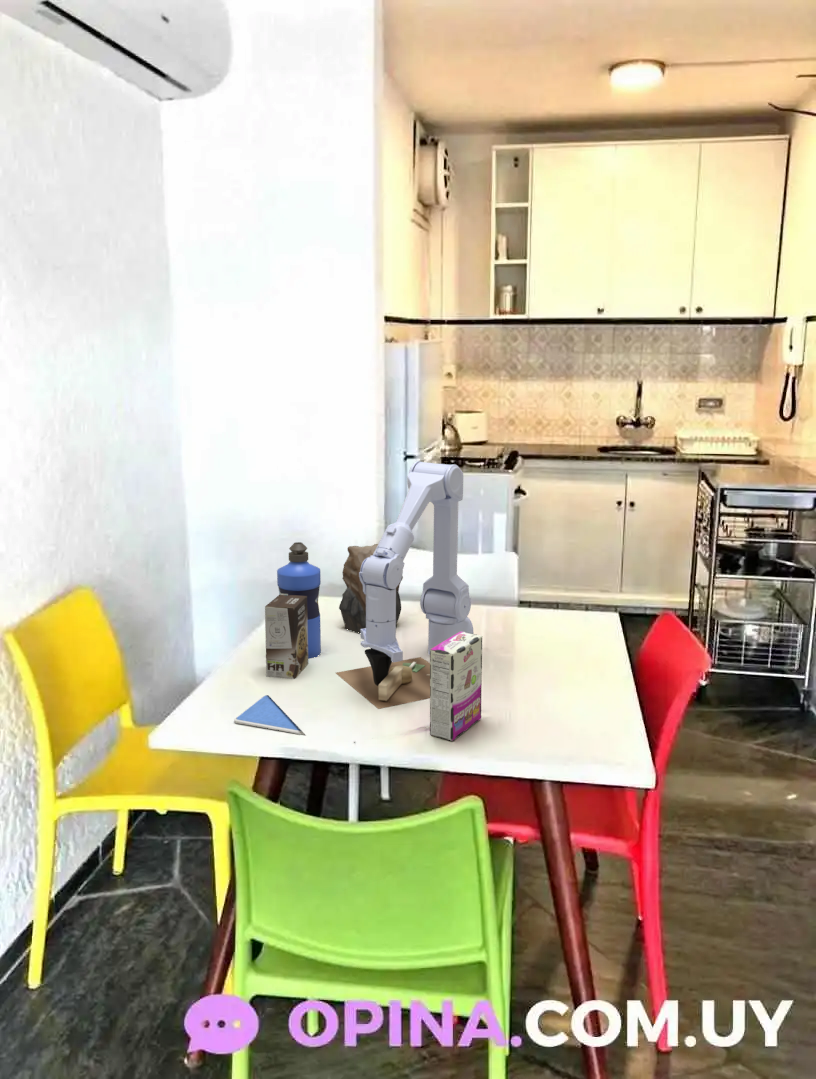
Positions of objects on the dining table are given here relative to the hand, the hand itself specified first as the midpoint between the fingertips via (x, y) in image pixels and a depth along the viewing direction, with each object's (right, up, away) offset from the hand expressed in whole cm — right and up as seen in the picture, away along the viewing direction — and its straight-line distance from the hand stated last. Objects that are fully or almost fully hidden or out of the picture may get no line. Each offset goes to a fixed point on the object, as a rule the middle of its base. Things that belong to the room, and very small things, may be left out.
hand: (380, 684), depth 171 cm
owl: (-3, +6, +39) cm, 40 cm away
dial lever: (+4, 0, +4) cm, 6 cm away
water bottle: (-19, +3, +24) cm, 30 cm away
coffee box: (-20, 0, +11) cm, 22 cm away
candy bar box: (+14, -6, -12) cm, 19 cm away
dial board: (+4, -1, +6) cm, 7 cm away
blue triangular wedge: (-15, -5, -9) cm, 19 cm away
